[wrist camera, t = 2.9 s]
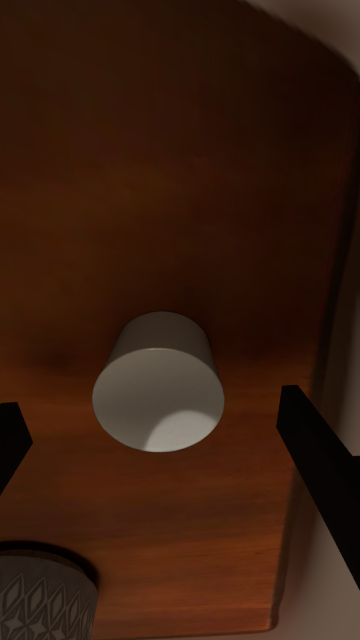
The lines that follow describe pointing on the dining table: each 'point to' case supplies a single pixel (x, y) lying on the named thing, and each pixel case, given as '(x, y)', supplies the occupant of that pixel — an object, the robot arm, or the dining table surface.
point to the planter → (44, 597)
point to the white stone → (159, 384)
